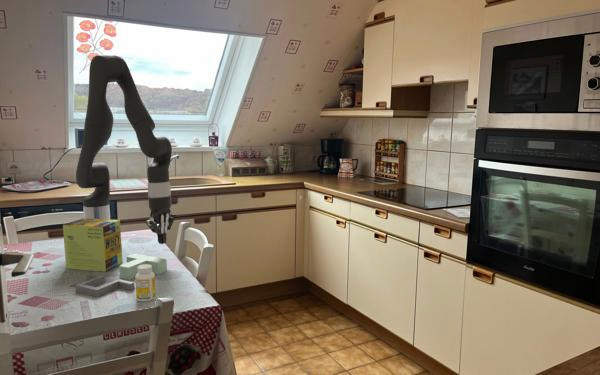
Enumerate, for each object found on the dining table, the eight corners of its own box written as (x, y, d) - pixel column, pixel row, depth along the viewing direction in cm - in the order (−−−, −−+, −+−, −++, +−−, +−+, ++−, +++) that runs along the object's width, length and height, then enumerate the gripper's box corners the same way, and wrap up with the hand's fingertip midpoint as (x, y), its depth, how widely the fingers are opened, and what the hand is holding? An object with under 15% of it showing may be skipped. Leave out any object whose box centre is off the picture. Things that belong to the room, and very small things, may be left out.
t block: (135, 264, 170) (135, 253, 169) (167, 270, 163) (166, 259, 163) (108, 275, 159) (107, 263, 158) (140, 282, 153) (140, 269, 152)
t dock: (64, 288, 147) (64, 282, 147) (90, 278, 156) (90, 272, 155) (109, 299, 139) (109, 293, 139) (134, 288, 147) (134, 282, 147)
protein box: (106, 272, 162) (103, 226, 160) (65, 269, 165) (61, 224, 163) (123, 262, 172) (120, 219, 170) (84, 259, 175) (81, 217, 173)
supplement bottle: (143, 303, 136) (141, 270, 135) (132, 298, 140) (130, 266, 138) (159, 297, 140) (158, 266, 139) (149, 293, 144) (147, 262, 142)
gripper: (164, 191, 175) (167, 237, 178) (137, 197, 163) (140, 247, 166) (180, 192, 172) (183, 240, 174) (153, 198, 160) (157, 249, 163)
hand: (162, 243), depth 170 cm, fingers closed
